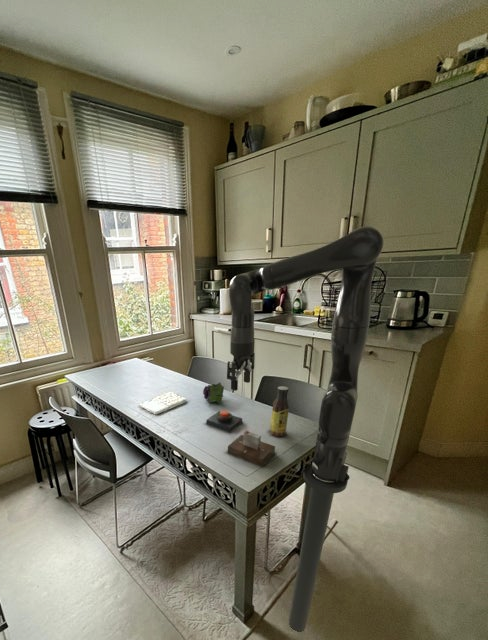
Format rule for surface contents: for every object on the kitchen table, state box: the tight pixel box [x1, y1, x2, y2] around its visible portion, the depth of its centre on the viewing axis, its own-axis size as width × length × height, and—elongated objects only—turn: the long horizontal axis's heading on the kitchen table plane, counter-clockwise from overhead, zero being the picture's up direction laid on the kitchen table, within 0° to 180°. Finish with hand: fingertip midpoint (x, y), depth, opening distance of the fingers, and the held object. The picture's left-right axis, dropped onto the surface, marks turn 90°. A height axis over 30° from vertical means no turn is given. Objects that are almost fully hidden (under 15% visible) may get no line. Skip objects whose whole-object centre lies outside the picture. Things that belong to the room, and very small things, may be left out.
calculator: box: [139, 391, 187, 415], centre depth 156 cm, size 13×20×2 cm, turn 132°
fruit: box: [202, 382, 225, 404], centre depth 156 cm, size 10×11×15 cm
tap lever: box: [242, 430, 262, 450], centre depth 114 cm, size 6×2×5 cm, turn 51°
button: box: [220, 410, 230, 418], centre depth 135 cm, size 4×4×2 cm
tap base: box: [227, 434, 276, 467], centre depth 116 cm, size 14×10×3 cm
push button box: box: [205, 410, 243, 433], centre depth 137 cm, size 12×10×4 cm
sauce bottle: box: [269, 385, 290, 437], centre depth 125 cm, size 7×6×20 cm
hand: (240, 385), depth 109 cm, fingers open, 8 cm apart
